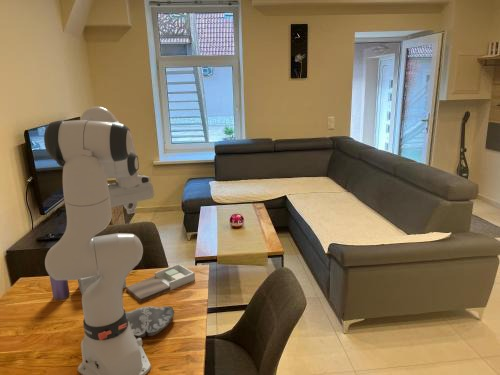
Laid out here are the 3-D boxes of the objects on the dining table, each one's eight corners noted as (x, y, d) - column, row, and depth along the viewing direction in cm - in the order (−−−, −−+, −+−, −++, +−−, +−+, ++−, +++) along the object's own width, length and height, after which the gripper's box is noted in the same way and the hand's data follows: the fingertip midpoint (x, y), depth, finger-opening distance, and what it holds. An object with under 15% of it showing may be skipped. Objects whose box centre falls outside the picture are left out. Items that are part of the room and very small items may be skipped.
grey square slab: (170, 290, 153) (170, 286, 153) (140, 302, 145) (140, 298, 144) (155, 279, 162) (154, 276, 162) (126, 290, 154) (126, 286, 154)
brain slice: (115, 348, 119) (114, 340, 119) (118, 318, 135) (117, 311, 134) (177, 336, 124) (176, 328, 124) (173, 309, 140) (172, 301, 139)
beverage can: (65, 300, 148) (59, 265, 144) (50, 300, 148) (44, 266, 144) (72, 292, 153) (67, 259, 150) (58, 293, 154) (52, 259, 150)
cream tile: (186, 281, 159) (185, 276, 159) (177, 284, 156) (176, 279, 156) (180, 277, 163) (180, 272, 162) (171, 281, 160) (171, 276, 159)
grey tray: (194, 280, 161) (194, 272, 160) (170, 290, 153) (169, 282, 152) (179, 270, 170) (178, 263, 169) (155, 279, 162) (154, 272, 161)
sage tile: (179, 277, 163) (179, 271, 163) (170, 280, 160) (169, 275, 160) (174, 273, 166) (173, 268, 166) (165, 277, 163) (164, 272, 163)
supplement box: (118, 275, 167) (116, 256, 165) (126, 288, 156) (124, 267, 154) (78, 287, 158) (75, 266, 156) (83, 300, 148) (80, 279, 145)
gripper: (104, 186, 141) (109, 221, 144) (154, 177, 154) (157, 209, 157) (98, 183, 145) (103, 217, 149) (146, 175, 158) (150, 206, 162)
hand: (131, 213), depth 153 cm, fingers closed
